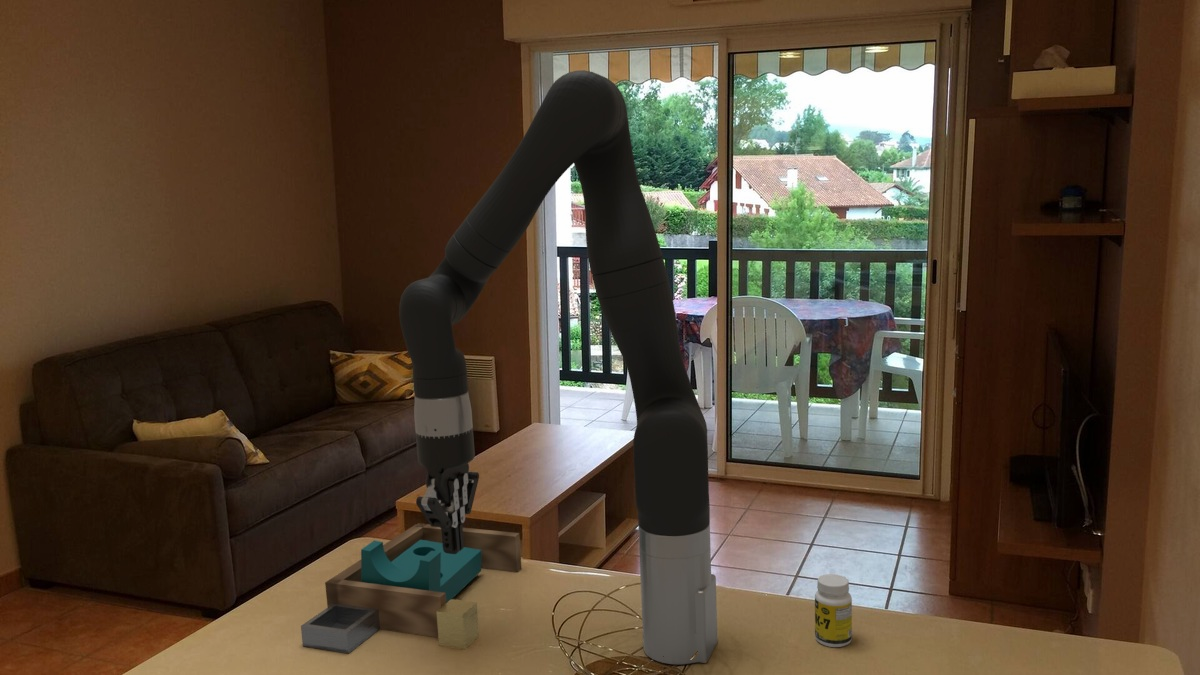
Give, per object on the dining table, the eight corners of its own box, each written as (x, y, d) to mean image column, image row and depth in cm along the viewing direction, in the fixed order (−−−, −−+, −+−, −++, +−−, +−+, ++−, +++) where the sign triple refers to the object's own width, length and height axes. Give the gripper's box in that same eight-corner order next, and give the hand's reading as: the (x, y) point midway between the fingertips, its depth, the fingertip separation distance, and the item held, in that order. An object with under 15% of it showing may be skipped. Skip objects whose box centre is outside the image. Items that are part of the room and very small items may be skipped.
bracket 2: (521, 568, 156) (519, 533, 155) (443, 638, 133) (440, 597, 132) (420, 557, 163) (417, 523, 162) (328, 621, 140) (325, 582, 139)
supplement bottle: (808, 635, 129) (807, 576, 128) (838, 628, 130) (837, 569, 129) (828, 651, 124) (828, 589, 123) (859, 643, 126) (859, 583, 125)
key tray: (380, 628, 137) (378, 609, 136) (348, 653, 130) (346, 632, 129) (336, 622, 139) (334, 603, 139) (302, 646, 132) (300, 625, 132)
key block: (478, 636, 133) (476, 602, 132) (465, 649, 129) (462, 614, 129) (453, 632, 135) (451, 599, 134) (439, 645, 131) (436, 611, 130)
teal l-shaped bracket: (428, 630, 137) (429, 561, 135) (361, 617, 140) (361, 549, 138) (480, 579, 154) (482, 517, 152) (420, 568, 157) (420, 507, 155)
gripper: (442, 441, 120) (453, 573, 123) (492, 415, 132) (501, 536, 135) (391, 438, 123) (402, 567, 126) (445, 413, 135) (454, 531, 138)
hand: (453, 551), depth 130 cm, fingers closed
